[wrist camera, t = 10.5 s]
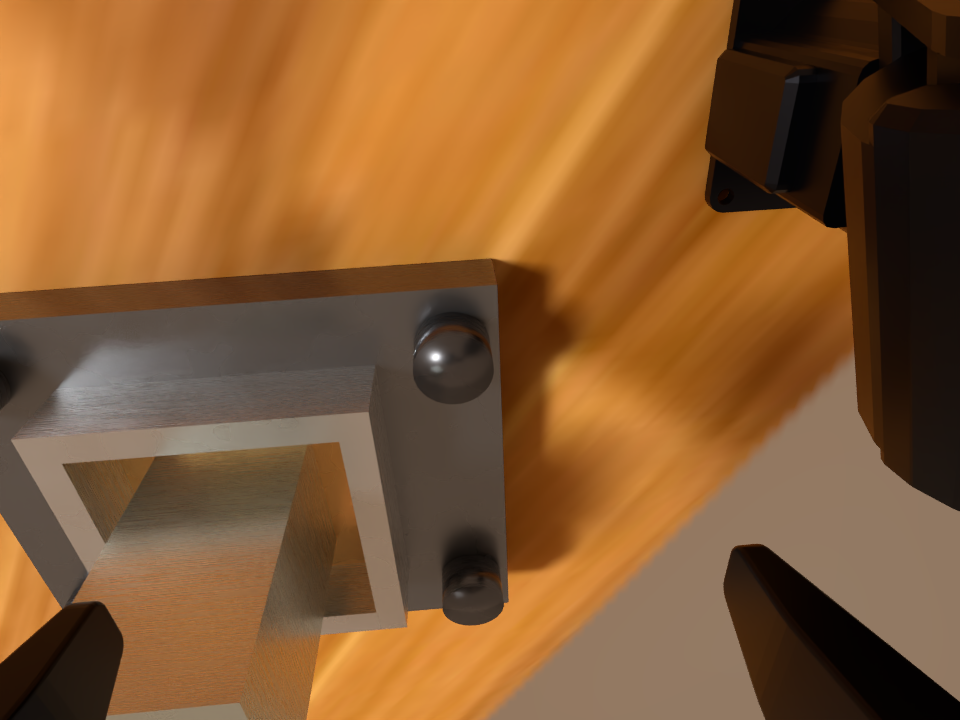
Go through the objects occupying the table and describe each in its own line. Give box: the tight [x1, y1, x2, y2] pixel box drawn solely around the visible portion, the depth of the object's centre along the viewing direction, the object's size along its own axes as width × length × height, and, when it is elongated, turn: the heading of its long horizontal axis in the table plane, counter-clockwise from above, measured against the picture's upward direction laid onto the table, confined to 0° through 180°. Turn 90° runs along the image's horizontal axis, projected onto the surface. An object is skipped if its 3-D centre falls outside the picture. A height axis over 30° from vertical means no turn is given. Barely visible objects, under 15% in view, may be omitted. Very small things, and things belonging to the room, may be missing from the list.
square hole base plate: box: [0, 259, 508, 635], centre depth 22 cm, size 18×15×4 cm
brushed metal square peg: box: [72, 444, 337, 720], centre depth 19 cm, size 5×6×9 cm
